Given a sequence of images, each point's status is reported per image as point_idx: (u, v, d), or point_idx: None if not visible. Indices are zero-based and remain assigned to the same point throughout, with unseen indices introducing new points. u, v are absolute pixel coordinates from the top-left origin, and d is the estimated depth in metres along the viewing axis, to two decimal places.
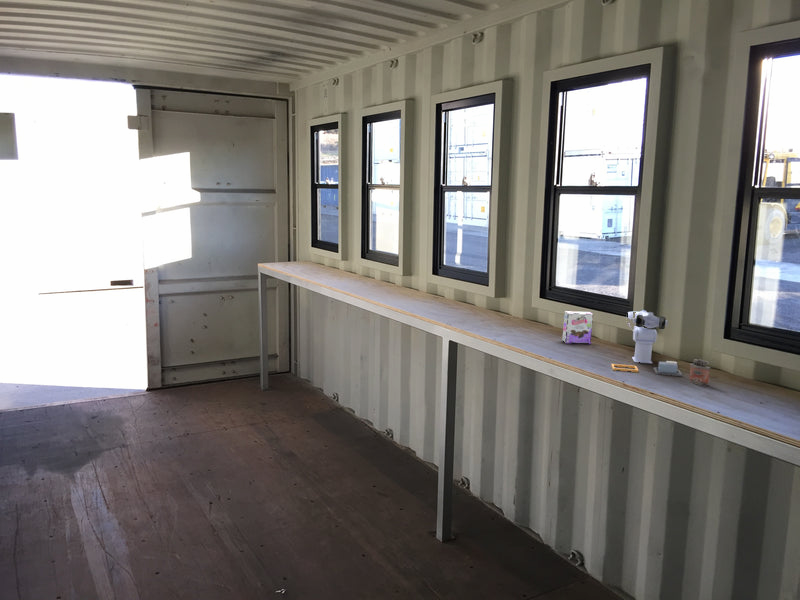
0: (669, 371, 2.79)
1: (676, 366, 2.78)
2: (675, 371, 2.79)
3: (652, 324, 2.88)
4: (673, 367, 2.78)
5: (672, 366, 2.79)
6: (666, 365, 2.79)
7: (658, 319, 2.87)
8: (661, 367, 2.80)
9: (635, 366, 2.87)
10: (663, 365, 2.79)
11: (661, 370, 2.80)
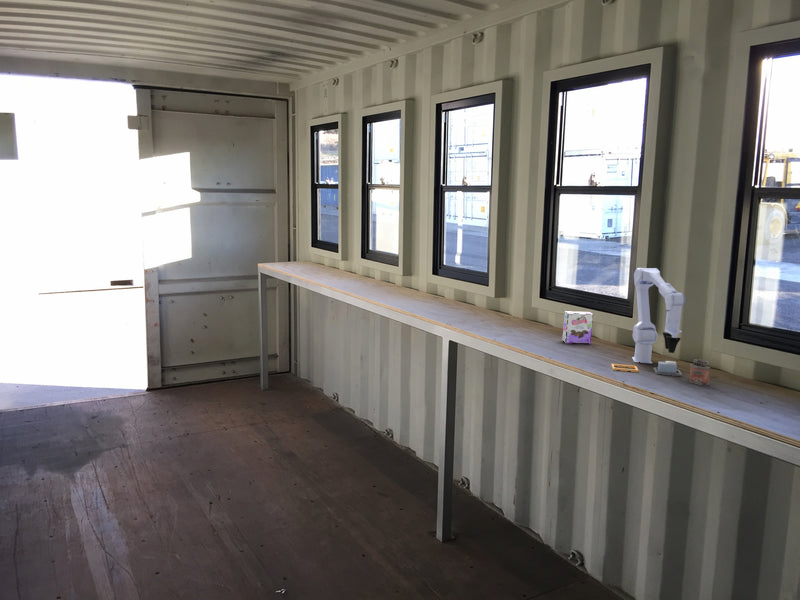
0: (668, 371, 2.79)
1: (675, 366, 2.78)
2: (674, 371, 2.79)
3: None
4: (672, 367, 2.79)
5: (671, 366, 2.79)
6: (665, 365, 2.79)
7: None
8: (660, 367, 2.80)
9: (635, 366, 2.87)
10: (662, 365, 2.79)
11: (660, 370, 2.80)
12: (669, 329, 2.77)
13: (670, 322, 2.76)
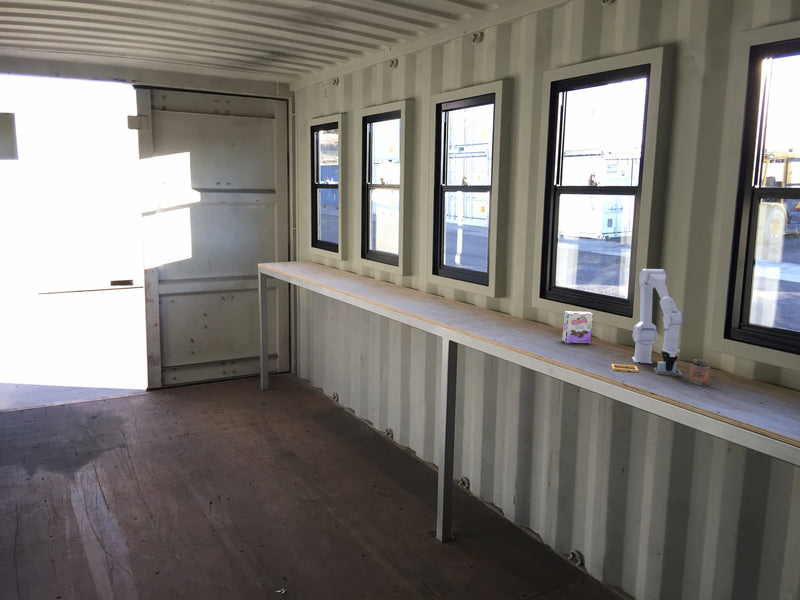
0: (668, 371, 2.79)
1: (675, 366, 2.78)
2: (674, 371, 2.79)
3: None
4: None
5: None
6: (665, 365, 2.79)
7: None
8: (660, 367, 2.80)
9: (635, 366, 2.87)
10: (662, 365, 2.79)
11: (660, 370, 2.80)
12: (667, 348, 2.78)
13: (668, 341, 2.77)
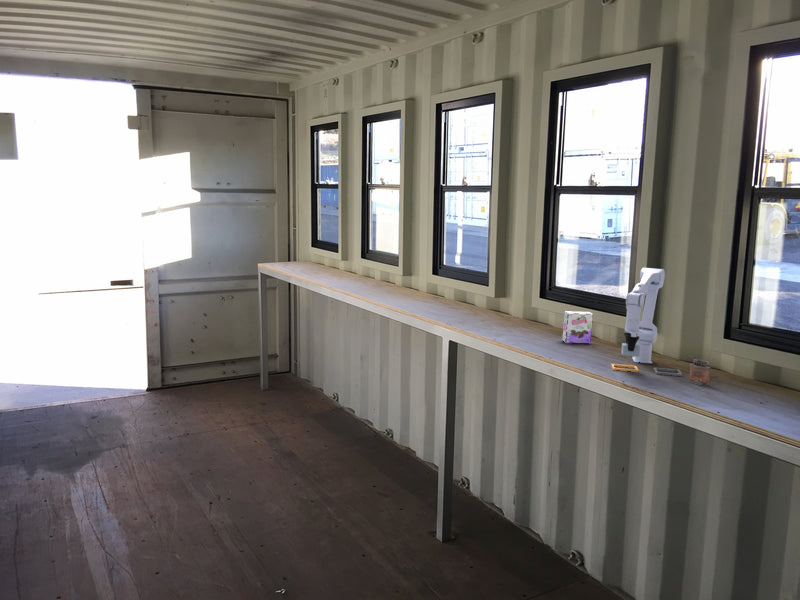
0: (632, 352, 2.82)
1: (638, 347, 2.81)
2: (637, 352, 2.81)
3: None
4: (635, 348, 2.81)
5: None
6: None
7: None
8: (624, 348, 2.82)
9: (635, 366, 2.87)
10: (626, 346, 2.82)
11: (624, 351, 2.82)
12: (629, 328, 2.80)
13: (630, 322, 2.80)
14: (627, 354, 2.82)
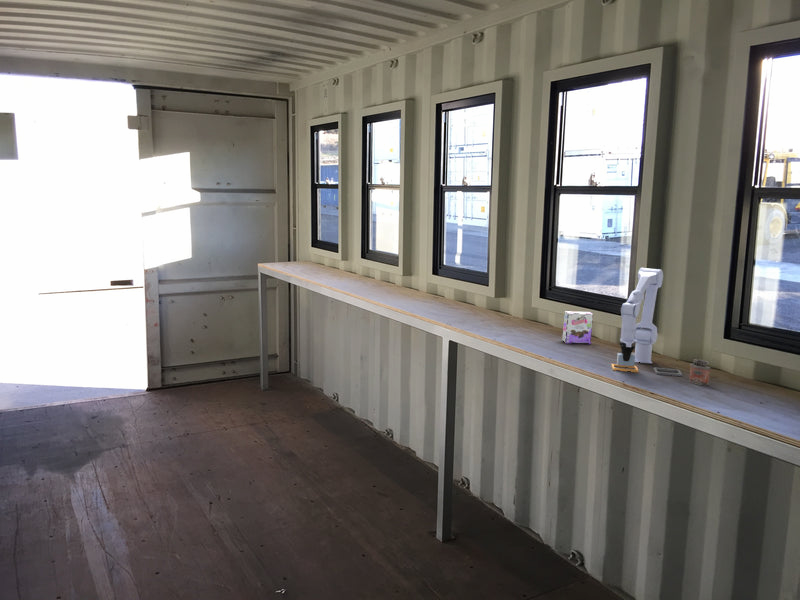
0: (627, 362, 2.83)
1: (633, 357, 2.82)
2: (633, 362, 2.82)
3: None
4: (631, 358, 2.82)
5: (630, 357, 2.82)
6: None
7: None
8: (619, 358, 2.83)
9: (635, 366, 2.87)
10: (621, 356, 2.83)
11: (619, 361, 2.83)
12: (624, 338, 2.81)
13: (625, 332, 2.81)
14: (622, 364, 2.83)
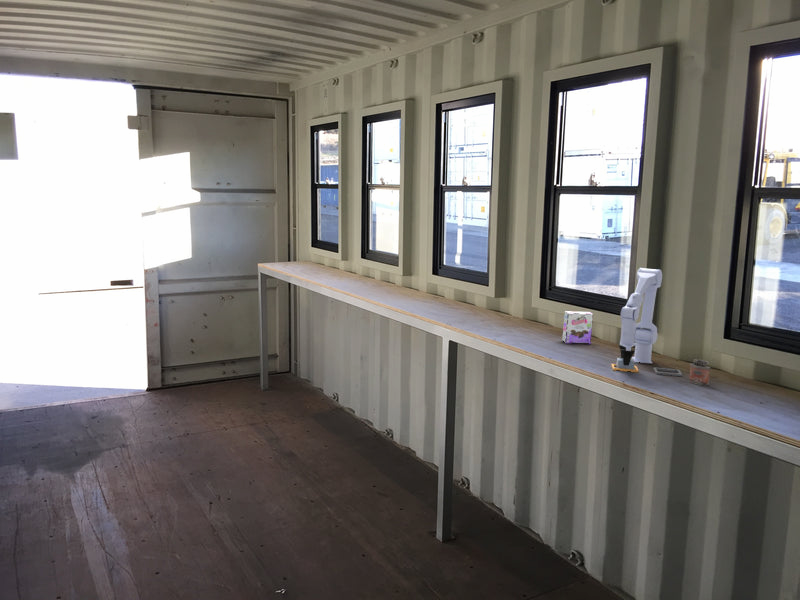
0: (626, 367, 2.83)
1: (633, 362, 2.82)
2: (632, 367, 2.82)
3: None
4: (630, 363, 2.82)
5: None
6: None
7: None
8: (618, 363, 2.84)
9: (635, 366, 2.87)
10: (620, 361, 2.83)
11: (618, 366, 2.84)
12: (624, 342, 2.82)
13: (625, 335, 2.81)
14: None
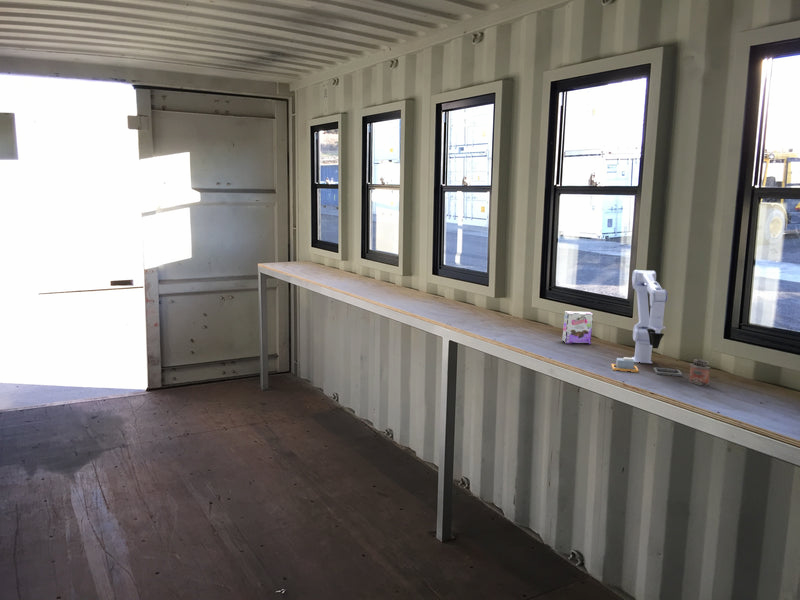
0: (626, 367, 2.83)
1: (633, 362, 2.82)
2: (632, 367, 2.83)
3: None
4: (630, 363, 2.82)
5: (629, 362, 2.83)
6: (623, 361, 2.83)
7: None
8: (618, 363, 2.84)
9: (635, 366, 2.87)
10: (620, 361, 2.83)
11: (618, 366, 2.84)
12: (653, 325, 2.82)
13: (654, 318, 2.82)
14: None
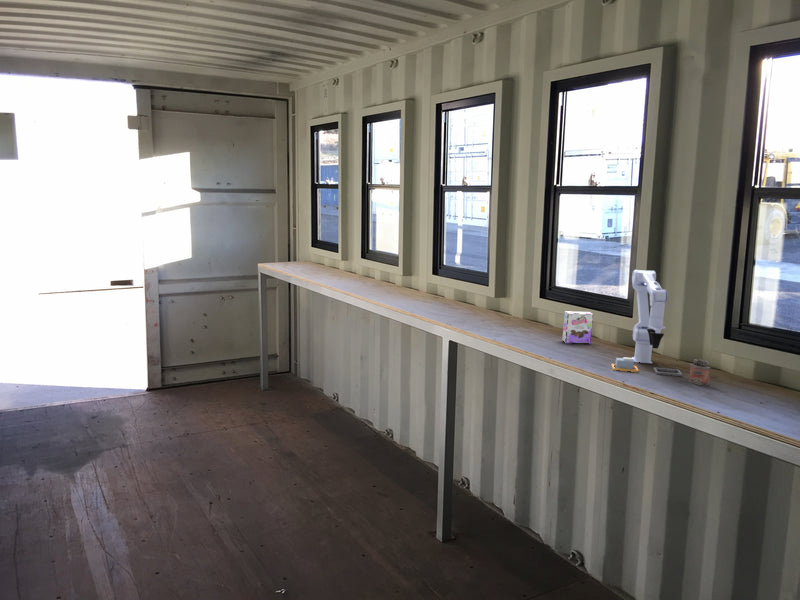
0: (625, 367, 2.83)
1: (632, 362, 2.82)
2: (631, 367, 2.83)
3: None
4: (629, 363, 2.82)
5: (628, 362, 2.83)
6: (622, 361, 2.83)
7: None
8: (617, 363, 2.84)
9: (635, 366, 2.87)
10: (619, 361, 2.83)
11: (617, 366, 2.84)
12: (653, 325, 2.82)
13: (654, 318, 2.82)
14: None
